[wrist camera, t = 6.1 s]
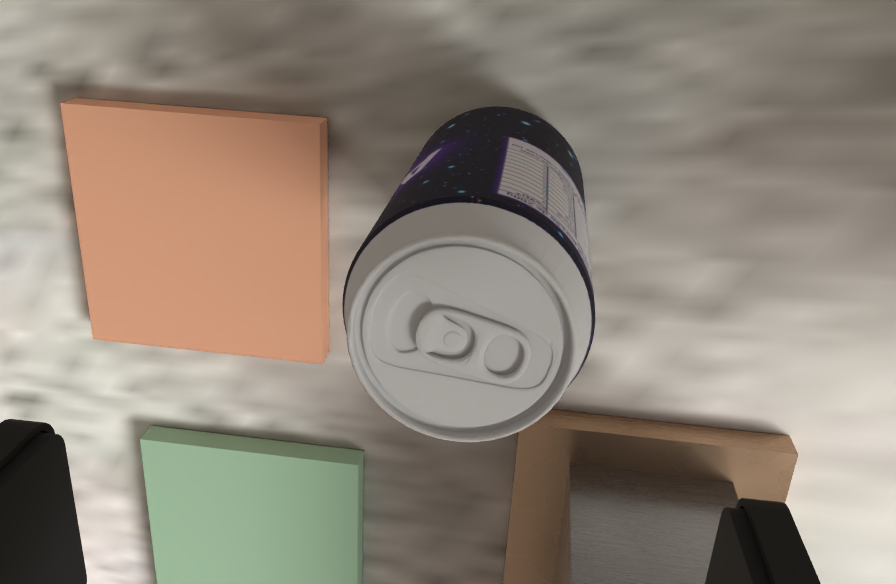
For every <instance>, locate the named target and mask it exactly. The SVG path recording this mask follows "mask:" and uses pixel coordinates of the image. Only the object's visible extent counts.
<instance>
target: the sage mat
mask: <svg viewBox="0 0 896 584" xmlns="http://www.w3.org/2000/svg"><path fill="white" fill-rule="evenodd" d="M140 446H141V454H142V462H143V471H144V479H145V487H146V496H147V504H148V512H149V521H150V529H151V537H152V546H153V554H154V562H155V571H156V579H157V584H362V563H363V486H364V451H361V450H353V449H345V448H336V447H328V446H319V445H311V444H302V443H294V442H285V441H277V440H268V439H260V438H251V437H243V436H234V435H226V434H217V433H209V432H200V431H192V430H183V429H175V428H166V427H158V426H150V427H149V429H148V430H147V431H146V432H145V433H144V435H143V436H142V437H141V438H140Z"/></svg>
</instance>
